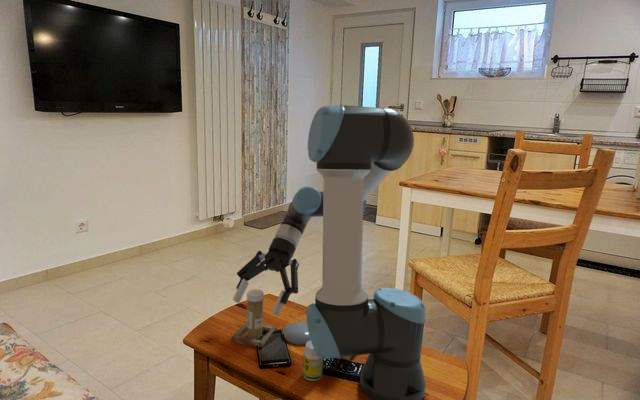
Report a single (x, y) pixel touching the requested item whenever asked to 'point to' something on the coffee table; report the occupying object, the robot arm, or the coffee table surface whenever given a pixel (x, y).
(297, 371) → the coffee table surface
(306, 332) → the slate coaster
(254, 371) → the coffee table surface
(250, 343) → the gray square frame
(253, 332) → the sprinkles bottle
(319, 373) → the supplement bottle
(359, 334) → the robot arm
